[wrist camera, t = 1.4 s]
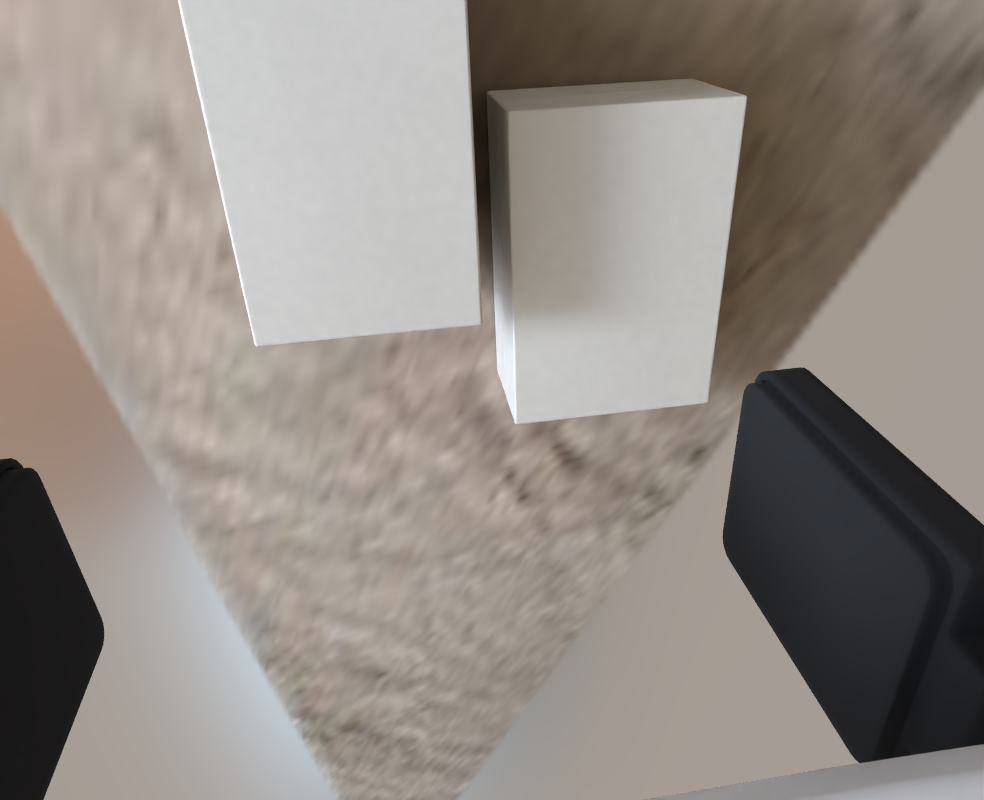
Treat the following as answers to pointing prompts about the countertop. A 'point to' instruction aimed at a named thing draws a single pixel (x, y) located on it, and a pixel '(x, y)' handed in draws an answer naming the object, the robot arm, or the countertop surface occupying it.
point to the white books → (610, 242)
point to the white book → (343, 161)
